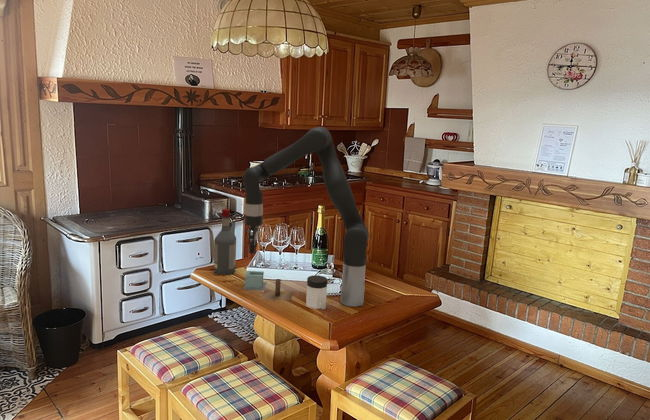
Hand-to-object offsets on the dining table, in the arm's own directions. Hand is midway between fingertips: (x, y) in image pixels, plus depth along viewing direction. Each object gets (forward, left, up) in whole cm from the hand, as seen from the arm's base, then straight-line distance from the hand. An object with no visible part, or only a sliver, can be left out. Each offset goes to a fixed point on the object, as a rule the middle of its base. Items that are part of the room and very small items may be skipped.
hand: (253, 250), depth 211 cm
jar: (-28, +17, -17) cm, 37 cm away
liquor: (+15, -18, -17) cm, 29 cm away
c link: (-1, +1, -16) cm, 16 cm away
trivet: (-1, +1, -17) cm, 17 cm away
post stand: (-12, +10, -17) cm, 23 cm away
